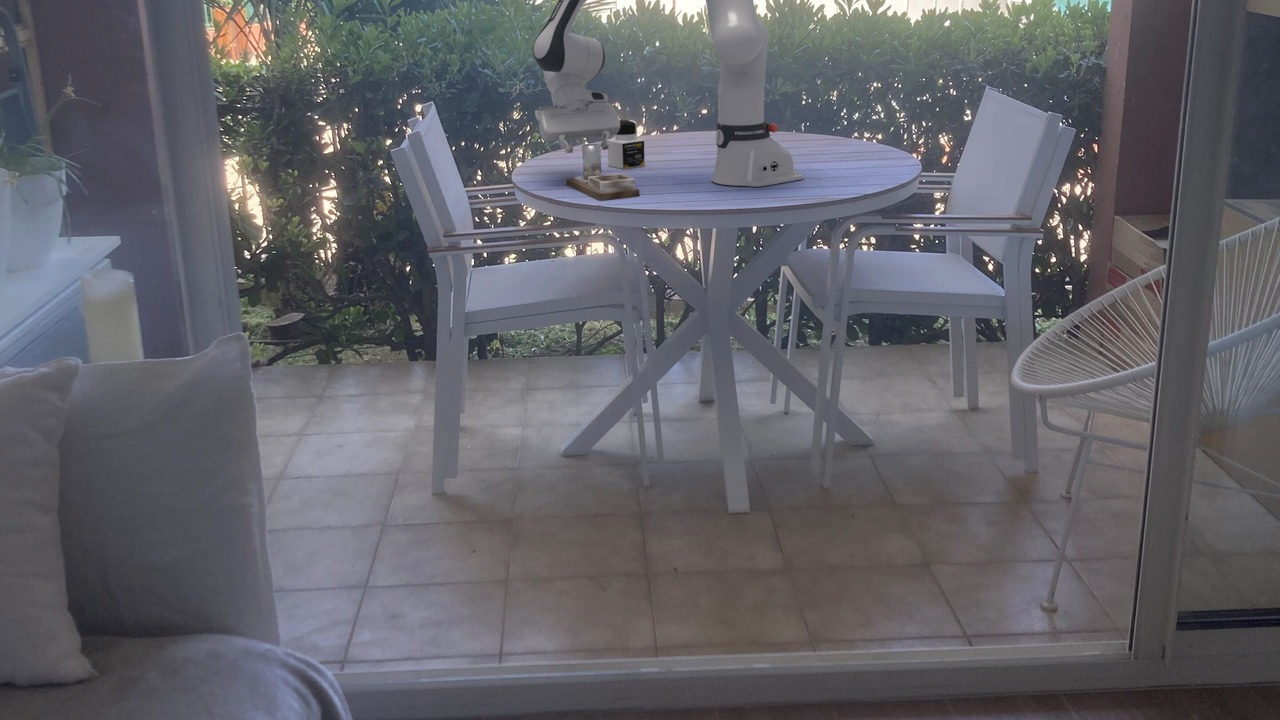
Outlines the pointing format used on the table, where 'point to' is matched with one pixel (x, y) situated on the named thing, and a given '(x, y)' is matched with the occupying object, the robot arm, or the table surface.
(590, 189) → the board
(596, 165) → the aluminium barrel nut
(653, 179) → the table surface
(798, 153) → the table surface
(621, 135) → the medicine bottle
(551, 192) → the table surface
